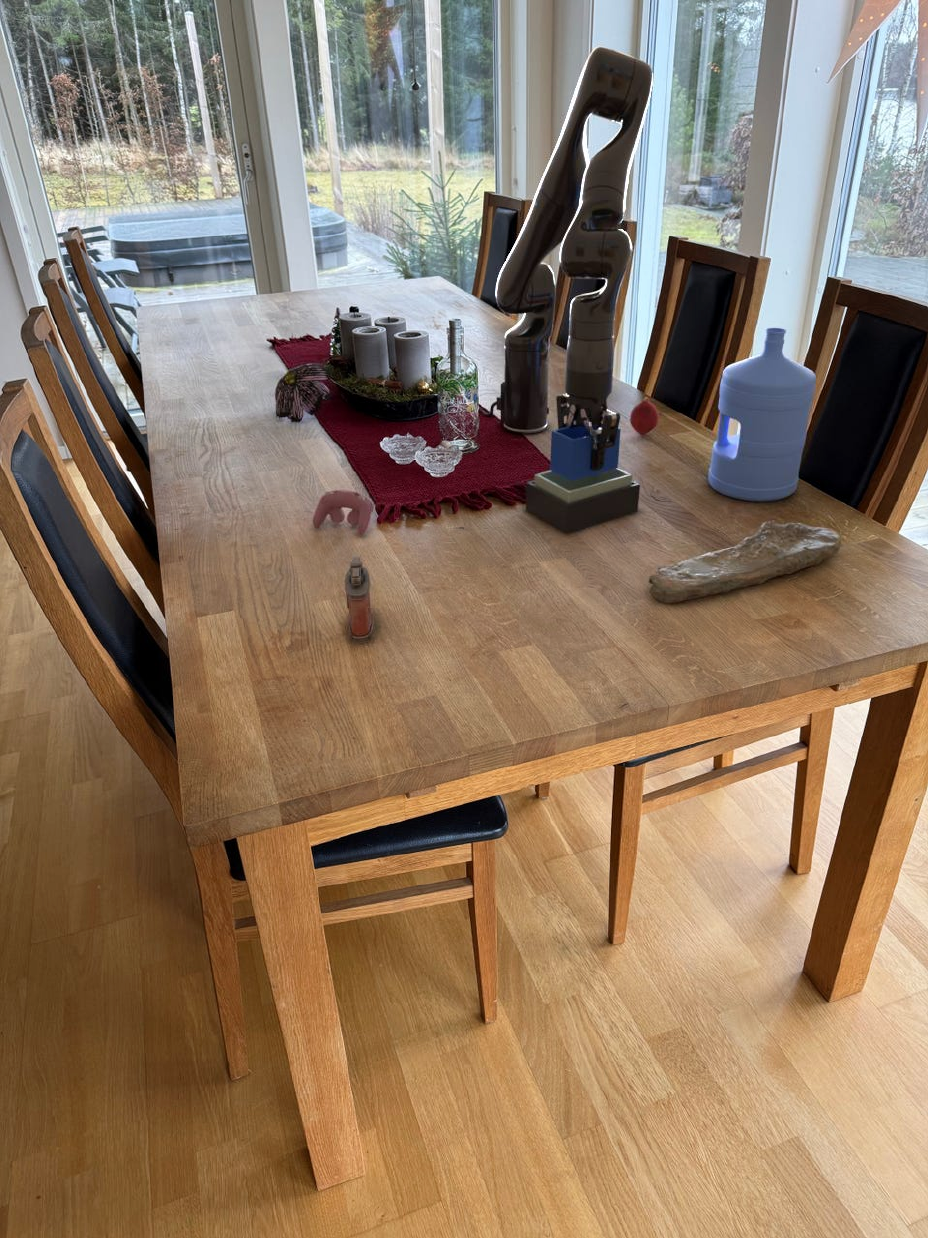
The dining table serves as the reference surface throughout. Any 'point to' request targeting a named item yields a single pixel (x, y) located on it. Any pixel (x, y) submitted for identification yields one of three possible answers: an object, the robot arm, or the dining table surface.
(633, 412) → the onion
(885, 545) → the dining table surface
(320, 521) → the video game controller
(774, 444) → the water jug
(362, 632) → the lighter
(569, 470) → the blue bin
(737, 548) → the elongated rock
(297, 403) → the decorative flower
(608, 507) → the outer bin
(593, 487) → the middle bin
